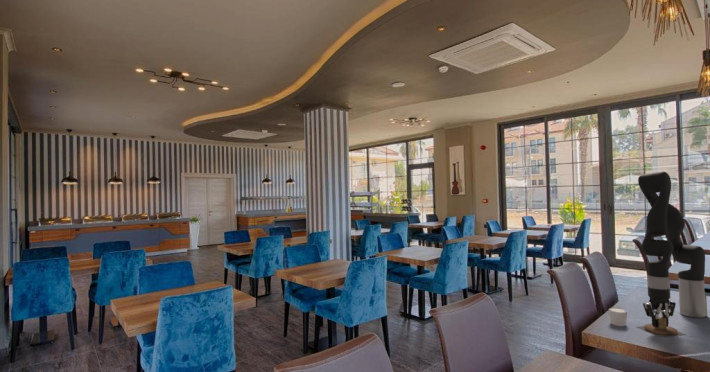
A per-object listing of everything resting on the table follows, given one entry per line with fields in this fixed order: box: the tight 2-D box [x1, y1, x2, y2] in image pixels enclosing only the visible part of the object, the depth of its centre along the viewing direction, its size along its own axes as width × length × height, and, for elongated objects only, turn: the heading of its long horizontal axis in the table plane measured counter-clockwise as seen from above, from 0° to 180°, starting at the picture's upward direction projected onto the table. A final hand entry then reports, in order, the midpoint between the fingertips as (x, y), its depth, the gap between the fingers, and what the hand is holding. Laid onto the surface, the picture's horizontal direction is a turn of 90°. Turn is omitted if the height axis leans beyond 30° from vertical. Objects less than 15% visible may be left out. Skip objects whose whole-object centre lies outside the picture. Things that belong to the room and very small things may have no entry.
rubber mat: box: [636, 325, 687, 339], centre depth 162 cm, size 12×12×1 cm
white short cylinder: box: [608, 307, 628, 327], centre depth 172 cm, size 7×7×7 cm
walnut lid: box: [643, 315, 678, 337], centre depth 162 cm, size 11×11×6 cm
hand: (660, 326), depth 162 cm, fingers closed on walnut lid, 4 cm apart
